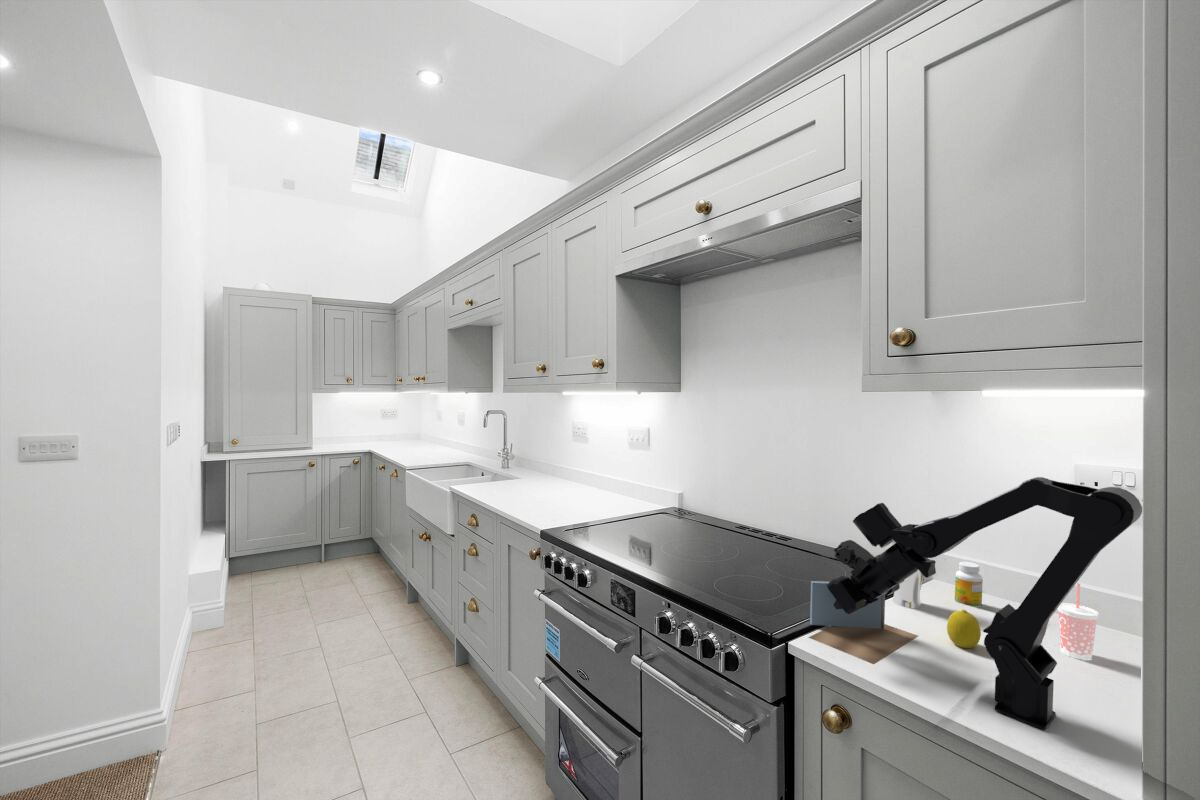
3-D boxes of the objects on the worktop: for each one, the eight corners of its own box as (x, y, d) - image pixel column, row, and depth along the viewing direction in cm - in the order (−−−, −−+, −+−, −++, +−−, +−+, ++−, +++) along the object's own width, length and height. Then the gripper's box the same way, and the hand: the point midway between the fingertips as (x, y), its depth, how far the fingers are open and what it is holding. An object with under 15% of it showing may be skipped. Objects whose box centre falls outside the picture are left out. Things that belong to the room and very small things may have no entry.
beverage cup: (1057, 643, 110) (1059, 575, 110) (1098, 654, 106) (1100, 583, 105) (1053, 654, 106) (1056, 583, 105) (1096, 666, 101) (1099, 592, 101)
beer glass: (885, 600, 132) (886, 539, 131) (915, 602, 131) (917, 540, 130) (896, 612, 125) (898, 547, 124) (929, 614, 124) (931, 549, 123)
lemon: (985, 658, 104) (986, 617, 104) (953, 655, 105) (954, 614, 105) (971, 644, 109) (973, 605, 109) (941, 641, 110) (942, 603, 110)
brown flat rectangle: (918, 640, 111) (918, 635, 111) (873, 669, 99) (873, 663, 99) (855, 618, 121) (855, 613, 121) (808, 642, 110) (808, 637, 109)
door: (885, 628, 113) (886, 586, 113) (811, 624, 115) (812, 582, 114) (880, 624, 115) (881, 582, 115) (808, 620, 117) (809, 579, 116)
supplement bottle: (949, 600, 132) (950, 560, 132) (969, 599, 133) (970, 560, 133) (966, 609, 127) (967, 568, 127) (987, 608, 128) (988, 567, 127)
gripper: (884, 523, 112) (833, 563, 121) (837, 538, 101) (784, 581, 110) (925, 571, 106) (868, 609, 115) (880, 592, 95) (820, 633, 104)
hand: (835, 606), depth 111 cm, fingers closed
